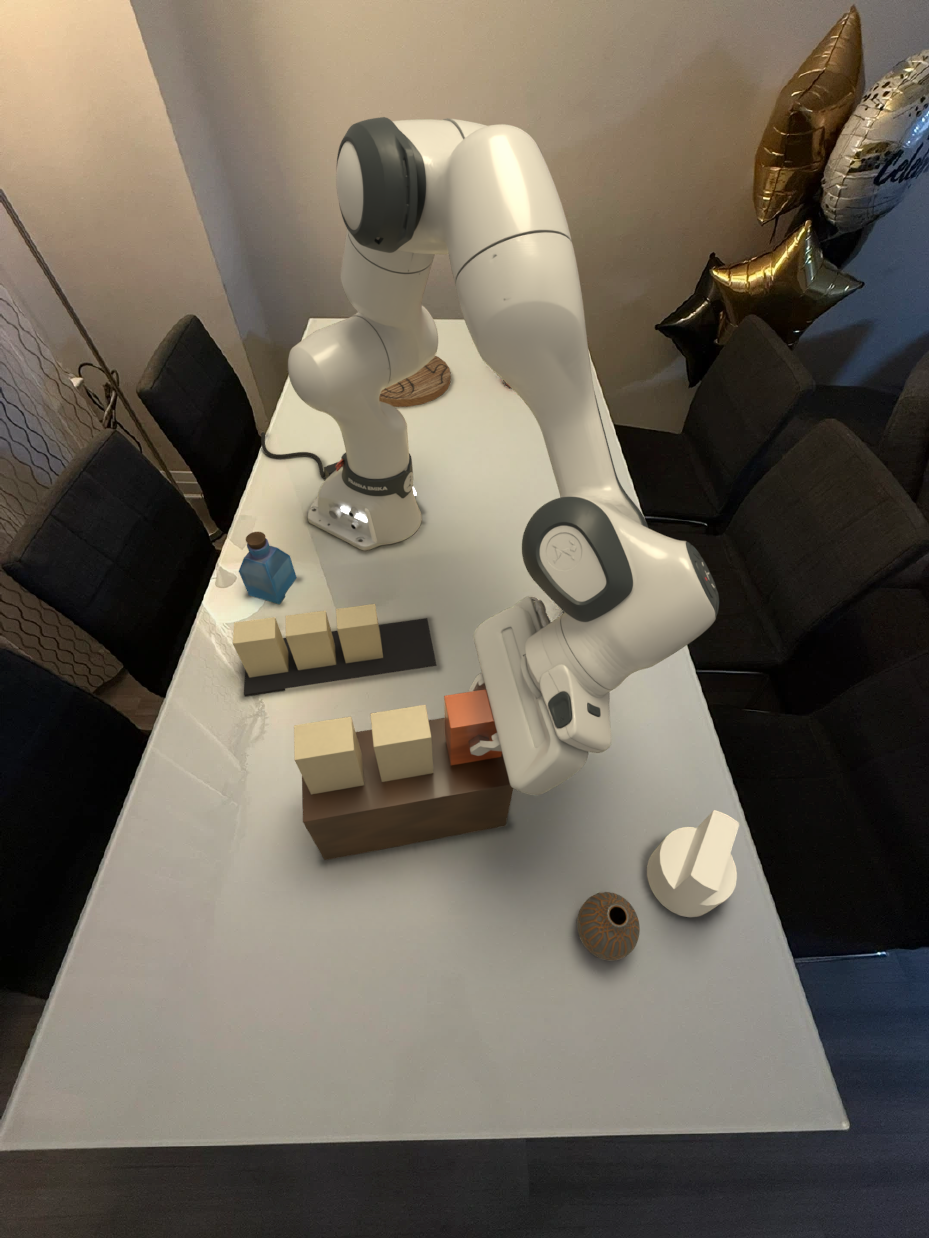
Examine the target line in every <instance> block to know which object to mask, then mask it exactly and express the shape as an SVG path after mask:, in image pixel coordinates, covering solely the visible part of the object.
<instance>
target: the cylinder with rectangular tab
mask: <svg viewBox="0 0 929 1238" xmlns="http://www.w3.org/2000/svg"><path fill="white" fill-rule="evenodd" d="M740 824H741V823H740V822H739V821H738V820H736V819H734V818H733V817H731V816H730V815H728V814H726V813H724V812H721V811H719V810H716V809H714V810H713V811H711V812H710V814H708V815H707V817H705V819H703V821H702V822H701V823H700V824H699V825H698V826H697V827H693V826H684V827H678V828H677V829H674V830H672V831H671V832H670V833H669V834H667V836H665V837H664V839H663V840H662V841H661V842H660V843H659V844H658V846H657V847H656V848H655V849H654V851H653V852H652V853H651V855H650V856H649V857H648V861H647V866H646V878H647V882H648V885H649V888H650V890H651V892H652V893H653V896H654V897H655V898H656V899H657V901H658V902H659V903H660V904H661V906H662V907H665V909H667V910H668V911H670V912H671V913H674V914H675V915H678V916H680V917H687V918H698V917H701V916H703V915H705V914H707V913H709V912H710V911H712V910H714V909H715V908H716V907H718V906H719V905H721V904H723V903H724V902H726V901H727V900H728V899H729V897H731V896H732V894H733V892H734V891H735V889H736V886H737V879H738V873H737V871H738V870H737V865H736V863H735V861H734V857H733V855H732V854H731V853H732V849H733V845H734V843H735V840H736V836H737V834H738V831H739V828H740Z"/></svg>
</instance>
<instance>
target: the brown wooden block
mask: <svg viewBox="0 0 929 1238" xmlns="http://www.w3.org/2000/svg"><path fill="white" fill-rule="evenodd" d="M369 715H370V716H369V717H370V722H371V723H370V724H371V725H370V727H371V729H366V730H360V731H356V728H355V725H354V721H353V718H352V716H351V715H350V716H344V717H338V718H333V719H326V720H320V721H319V720H318V721H312V722H306V723H301V724H294V725H293V751H294V752H293V753H294V755H293V756H294V757H293V759H294V762H295V764H296V767H297V768H298V770H299V773H300V775H301V799H302V800H301V801H302V803H301V805H302V823H303V825H304V827H305V828H306V830H307V832H308V834H309V835H310V838H311V839H312V841H313V842H314V844H315V846H316V848H317V850H318V851H319V853H320V855H321V857H322V858H323V860H324V861H328V860H335V859H339V858H345V857H349V856H355V855H360V854H366V853H370V852H376V851H381V850H386V849H387V850H388V849H392V848H396V847H397V848H398V847H403V846H408V845H412V844H418V843H423V842H424V843H425V842H429V841H434V840H440V839H444V838H450V837H454V836H455V837H456V836H460V835H467V834H471V833H477V832H481V831H487V830H492V829H497V828H502V827H503V828H504V827H506V826H507V822H508V817H509V813H510V809H511V808H510V807H511V803H512V797H513V795H514V790H515V789H514V788H512V787H511V785H510V782H509V778H508V774H507V770H506V766H505V762H504V758H503V754H502V755H501V757H497V758H491V759H486V760H480V761H474V762H468V763H463V764H457V765H451V764H450V759H449V754H448V748H447V743H446V738H445V717H439V718H434V719H429V715H428V709H427V705H426V704H419V705H413V706H408V707H402V708H396V709H395V708H394V709H389V710H381V711H377V712H371V713H370V714H369Z"/></svg>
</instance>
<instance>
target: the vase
mask: <svg viewBox="0 0 929 1238" xmlns="http://www.w3.org/2000/svg"><path fill="white" fill-rule="evenodd" d="M576 926H577V932H578V936H579V938H580V941H581V944H582V945H583V946H584V947H585V948H586V950H587V951H588V952H589V953H590V954H592V955H593V956H594V957H596V958H598V959H601V960H604V961H611V962H613V961H618V960H621V959H624V958H625V957H627V956H628V955H630V953H632V951H634V949H635V948H636V946H637V944H638V941H639V939H640V931H641V928H640V921H639V917H638V914H637V911H636V910H635V908H634V907H633V906H632V904H631V903H630V902H629V901H628V900H627V899H626V898H624V897H623V896H621V895H620V894H617V893H615V892H609V891H602V892H598V893H595V894H592V895H591V896H589V897H588V898H587V899H586V900H585V901H584V902H583V904H581V906H580V909H579V911H578V914H577V919H576Z"/></svg>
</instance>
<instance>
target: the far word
mask: <svg viewBox="0 0 929 1238" xmlns="http://www.w3.org/2000/svg"><path fill="white" fill-rule="evenodd" d="M335 617H336V630H332V629H331V625H330V621H329V617H328V613H327V610H318V611H317V610H316V611H312V612H311V611H310V612H304V613H295V614H289V615H285V637H283V634H282V631H281V629H280V626H279V623H278V621H277V618H276V617H275V616H272V617H265V618H259V619H250V620H242V621H235V622H233V632H232V646H233V647H234V649H235V651H236V654H237V656H238V658H239V660H240V662H241V664H242V665H243V668H244V681H243V682H244V683H243V696H244V697H251V696H257V695H264V694H271V693H278V692H283V691H286V689H291V688H299V687H305V686H311V685H318V684H326V683H331V682H338V681H344V680H345V681H346V680H352V679H357V678H358V679H359V678H364V677H365V678H366V677H372V676H378V675H384V674H392V673H399V672H405V671H411V670H418V669H425V668H432V667H437V662H436V661H437V660H436V656H435V651H434V646H433V641H432V636H431V631H430V625H429V620H428V618H427V617H425V618H417V619H410V620H402V621H396V622H389V623H382V624H379V620H378V613H377V606H376V603H371V604H363V605H356V606H348V607H341V608H340V607H339V608H335Z"/></svg>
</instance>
